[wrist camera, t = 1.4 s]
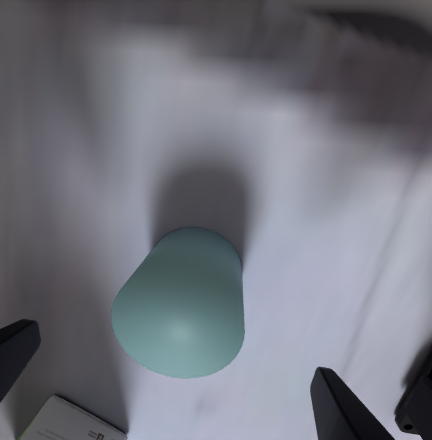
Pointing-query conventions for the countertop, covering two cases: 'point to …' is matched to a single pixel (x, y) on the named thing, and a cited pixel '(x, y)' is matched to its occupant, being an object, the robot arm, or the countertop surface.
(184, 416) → the countertop surface
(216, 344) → the teal block
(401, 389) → the countertop surface
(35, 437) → the skincare box
